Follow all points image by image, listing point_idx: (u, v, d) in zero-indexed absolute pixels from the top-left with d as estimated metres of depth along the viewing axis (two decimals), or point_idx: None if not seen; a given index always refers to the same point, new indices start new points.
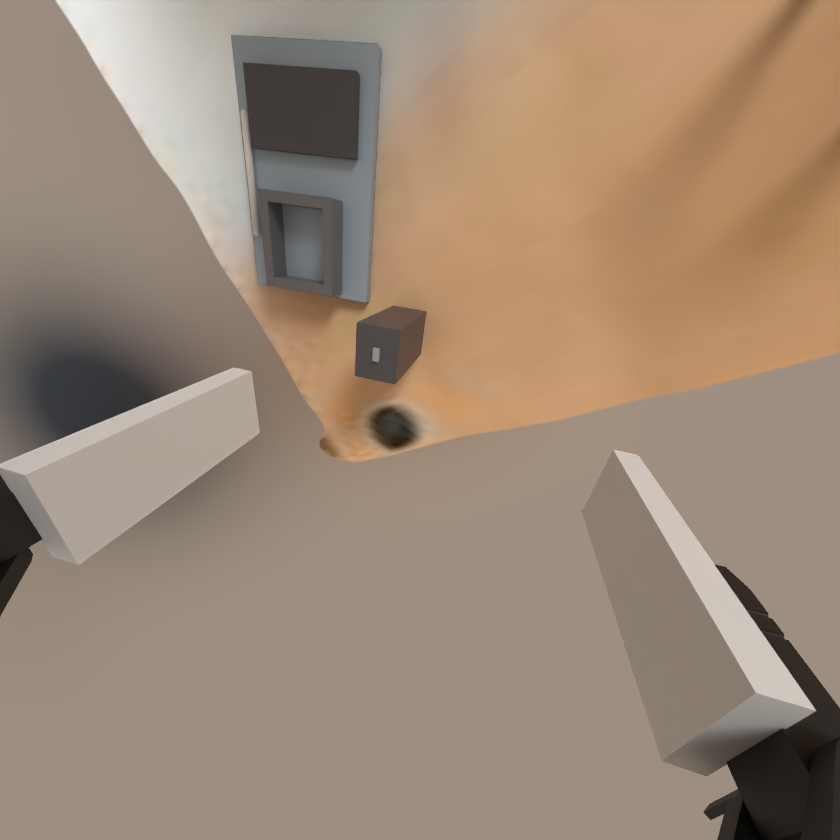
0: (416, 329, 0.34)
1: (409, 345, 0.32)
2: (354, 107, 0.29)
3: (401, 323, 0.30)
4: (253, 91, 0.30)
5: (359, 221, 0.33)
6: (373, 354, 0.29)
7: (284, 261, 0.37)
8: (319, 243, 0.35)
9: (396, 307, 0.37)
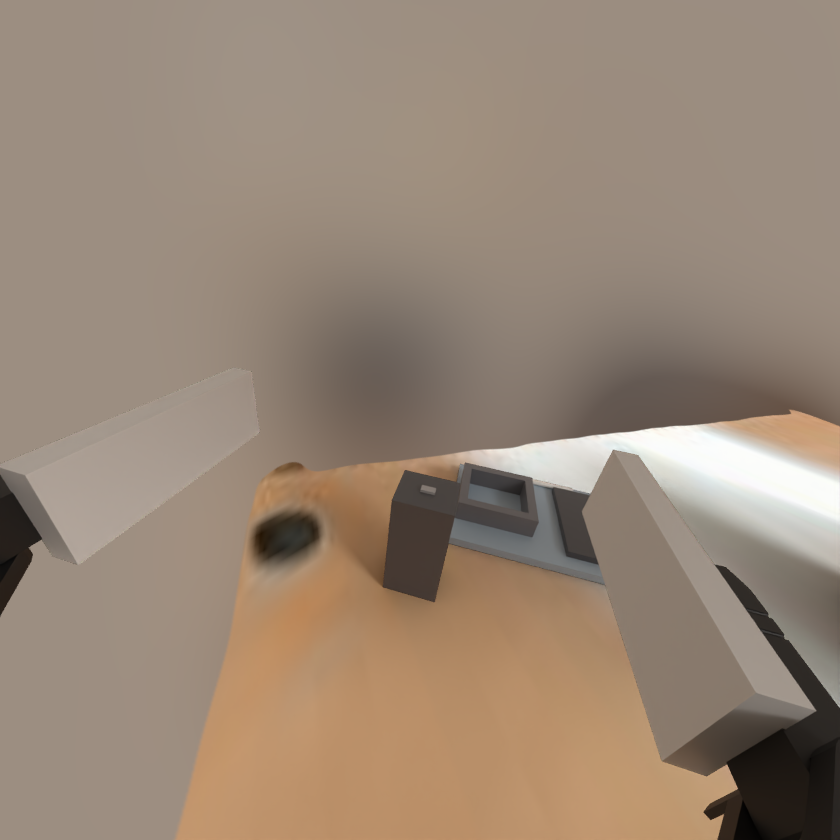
0: (427, 568, 0.27)
1: (418, 545, 0.26)
2: None
3: None
4: (585, 497, 0.42)
5: (519, 547, 0.35)
6: (428, 487, 0.26)
7: (479, 483, 0.43)
8: None
9: None
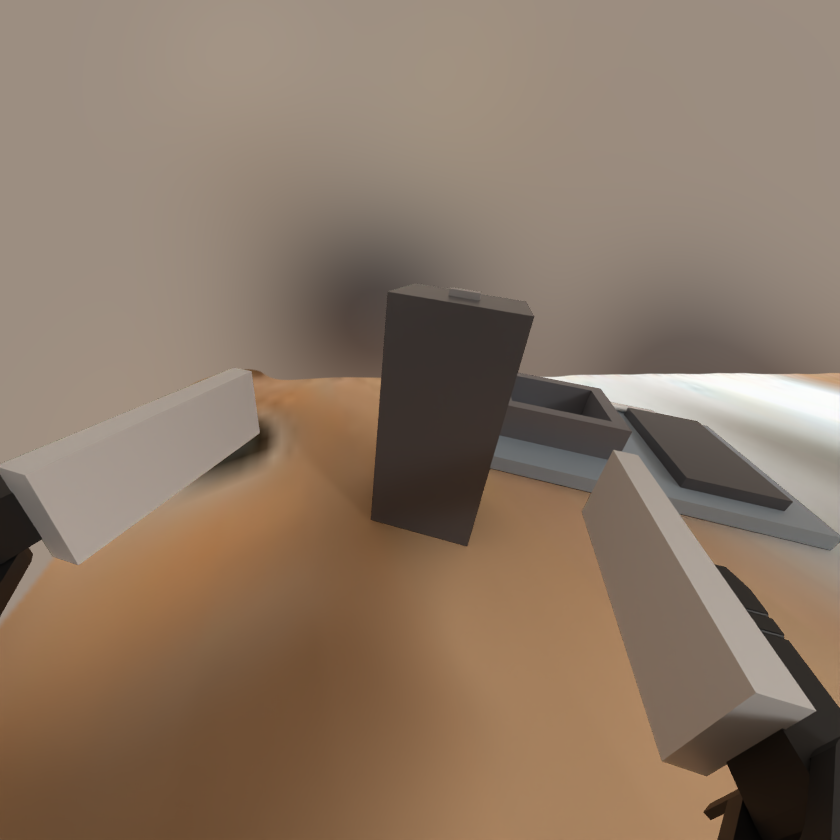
0: (459, 470, 0.14)
1: (443, 412, 0.13)
2: (748, 491, 0.20)
3: None
4: (679, 420, 0.28)
5: (600, 471, 0.21)
6: (466, 290, 0.12)
7: (519, 399, 0.29)
8: None
9: None
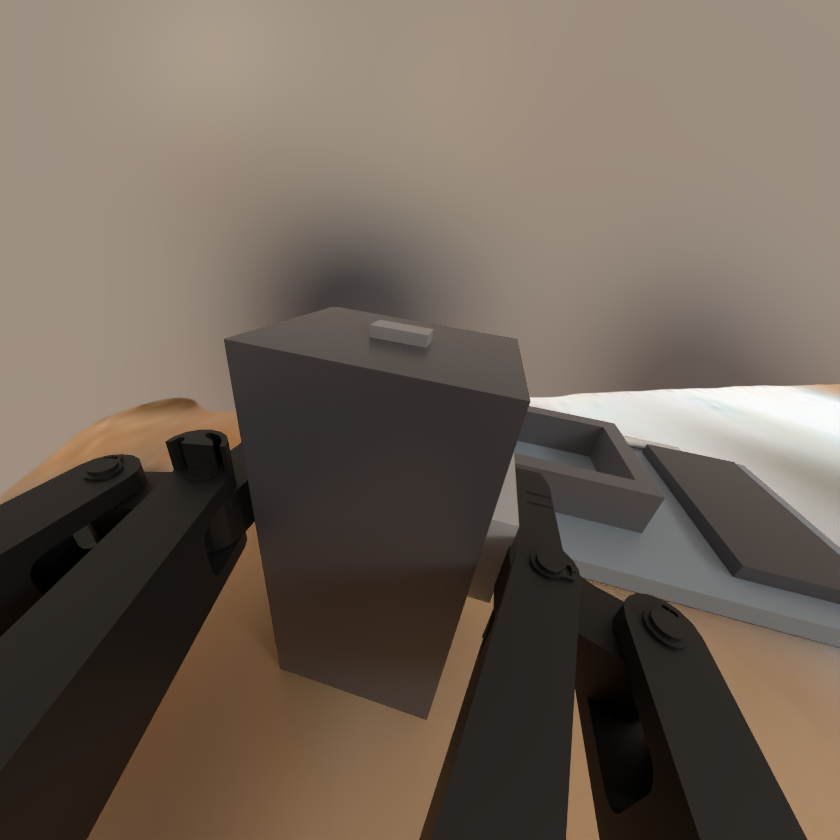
0: (402, 630, 0.08)
1: (365, 550, 0.07)
2: (831, 586, 0.14)
3: None
4: (712, 462, 0.23)
5: (622, 554, 0.15)
6: (404, 325, 0.07)
7: None
8: None
9: None
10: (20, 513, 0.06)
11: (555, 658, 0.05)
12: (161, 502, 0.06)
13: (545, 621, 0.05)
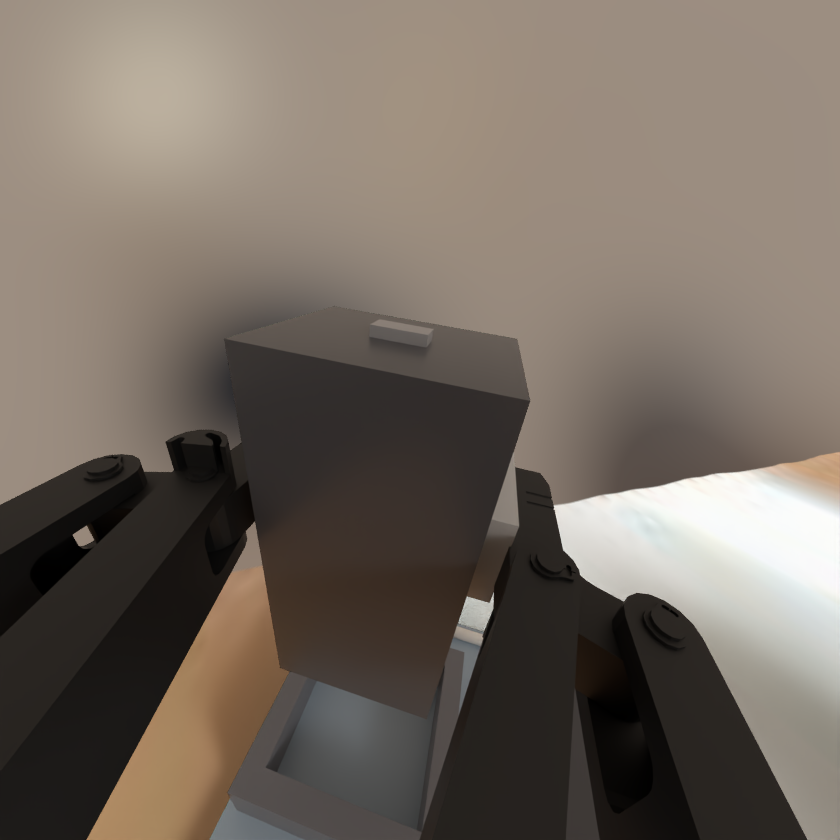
0: (402, 630, 0.08)
1: (365, 550, 0.07)
2: None
3: None
4: None
5: None
6: (404, 325, 0.07)
7: None
8: (362, 765, 0.16)
9: None
10: (20, 512, 0.06)
11: (555, 658, 0.05)
12: (161, 502, 0.06)
13: (545, 621, 0.05)
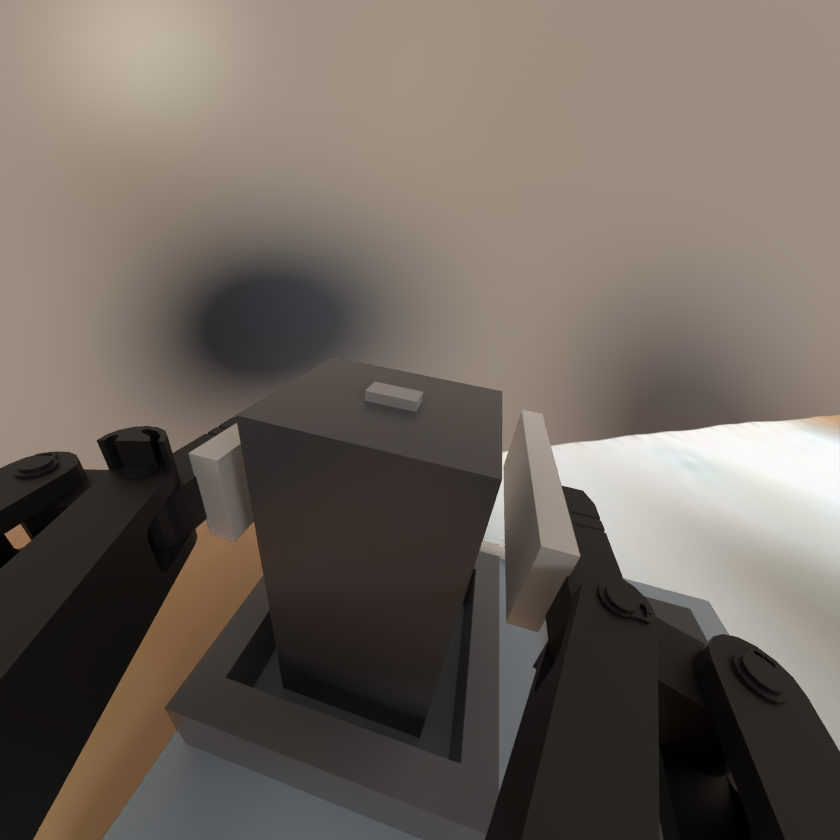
0: (396, 660, 0.09)
1: (361, 591, 0.08)
2: None
3: None
4: (655, 613, 0.15)
5: None
6: (396, 388, 0.07)
7: None
8: None
9: None
10: None
11: (634, 710, 0.04)
12: (96, 501, 0.06)
13: (619, 666, 0.05)
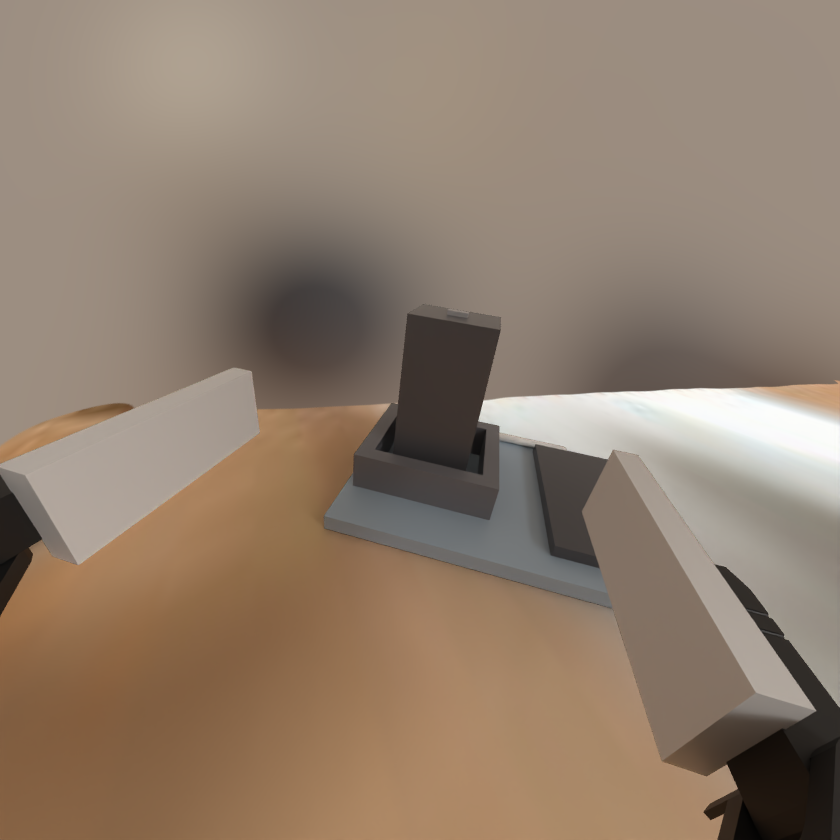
0: (454, 434, 0.20)
1: (443, 393, 0.19)
2: None
3: None
4: (587, 460, 0.26)
5: (461, 536, 0.18)
6: (458, 310, 0.19)
7: None
8: None
9: None
10: None
11: None
12: None
13: None
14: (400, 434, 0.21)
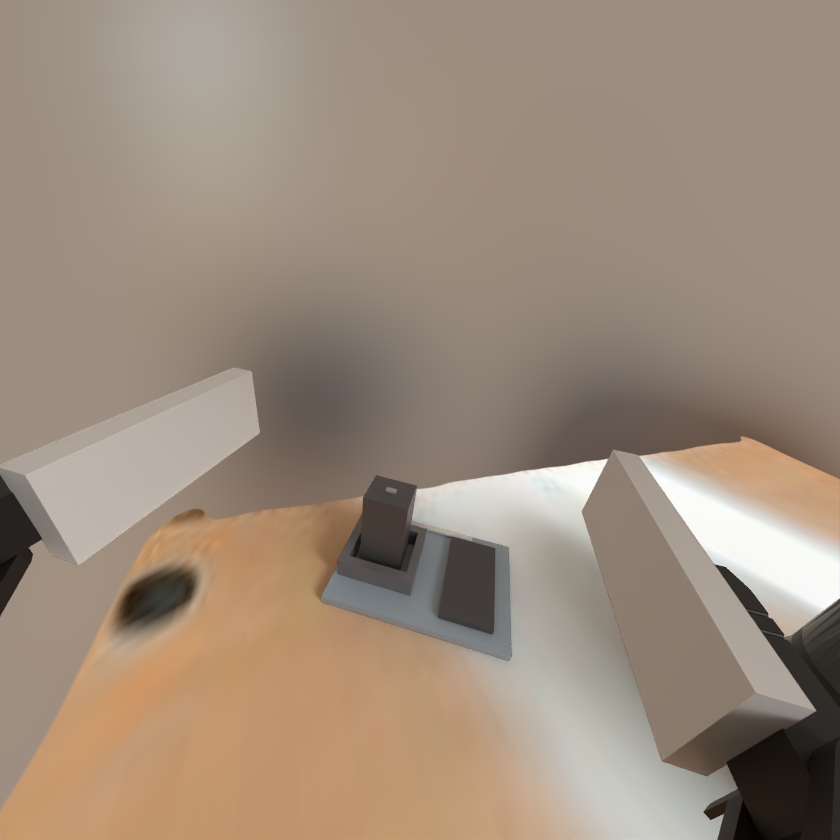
0: (391, 549, 0.37)
1: (384, 531, 0.36)
2: (471, 623, 0.34)
3: (406, 523, 0.35)
4: (481, 549, 0.43)
5: (392, 607, 0.35)
6: (391, 488, 0.35)
7: None
8: None
9: (406, 549, 0.41)
10: None
11: None
12: None
13: None
14: (363, 546, 0.38)
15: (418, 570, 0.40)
